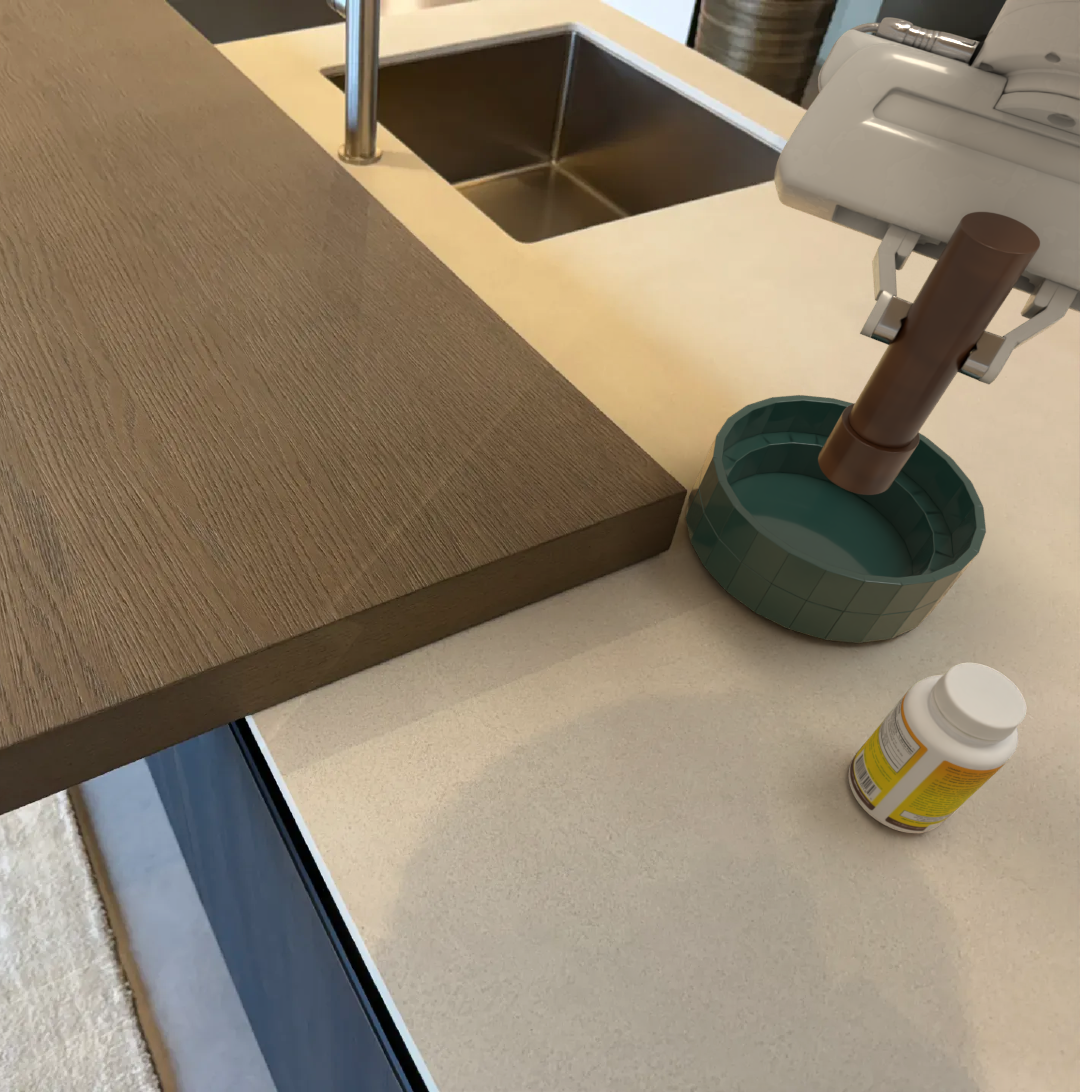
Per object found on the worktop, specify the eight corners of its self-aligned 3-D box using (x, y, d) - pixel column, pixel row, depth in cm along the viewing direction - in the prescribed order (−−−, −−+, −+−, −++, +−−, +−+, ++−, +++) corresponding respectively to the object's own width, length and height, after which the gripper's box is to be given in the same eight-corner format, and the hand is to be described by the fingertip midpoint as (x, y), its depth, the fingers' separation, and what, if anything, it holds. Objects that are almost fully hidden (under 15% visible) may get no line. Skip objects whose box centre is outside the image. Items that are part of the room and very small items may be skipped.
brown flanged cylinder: (900, 464, 54) (1055, 228, 44) (881, 506, 52) (1040, 268, 42) (829, 434, 56) (964, 197, 45) (808, 473, 53) (944, 234, 43)
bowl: (959, 530, 74) (1008, 465, 69) (900, 692, 64) (952, 630, 59) (732, 430, 80) (763, 363, 75) (645, 565, 70) (674, 499, 65)
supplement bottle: (961, 801, 59) (1065, 704, 52) (910, 856, 57) (1011, 762, 49) (877, 733, 62) (964, 631, 54) (824, 783, 59) (908, 683, 52)
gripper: (861, -31, 46) (712, 253, 48) (1386, 116, 40) (1192, 439, 41) (846, 39, 52) (714, 290, 54) (1300, 177, 46) (1133, 458, 47)
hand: (925, 356), depth 48 cm, fingers closed on brown flanged cylinder, 3 cm apart
